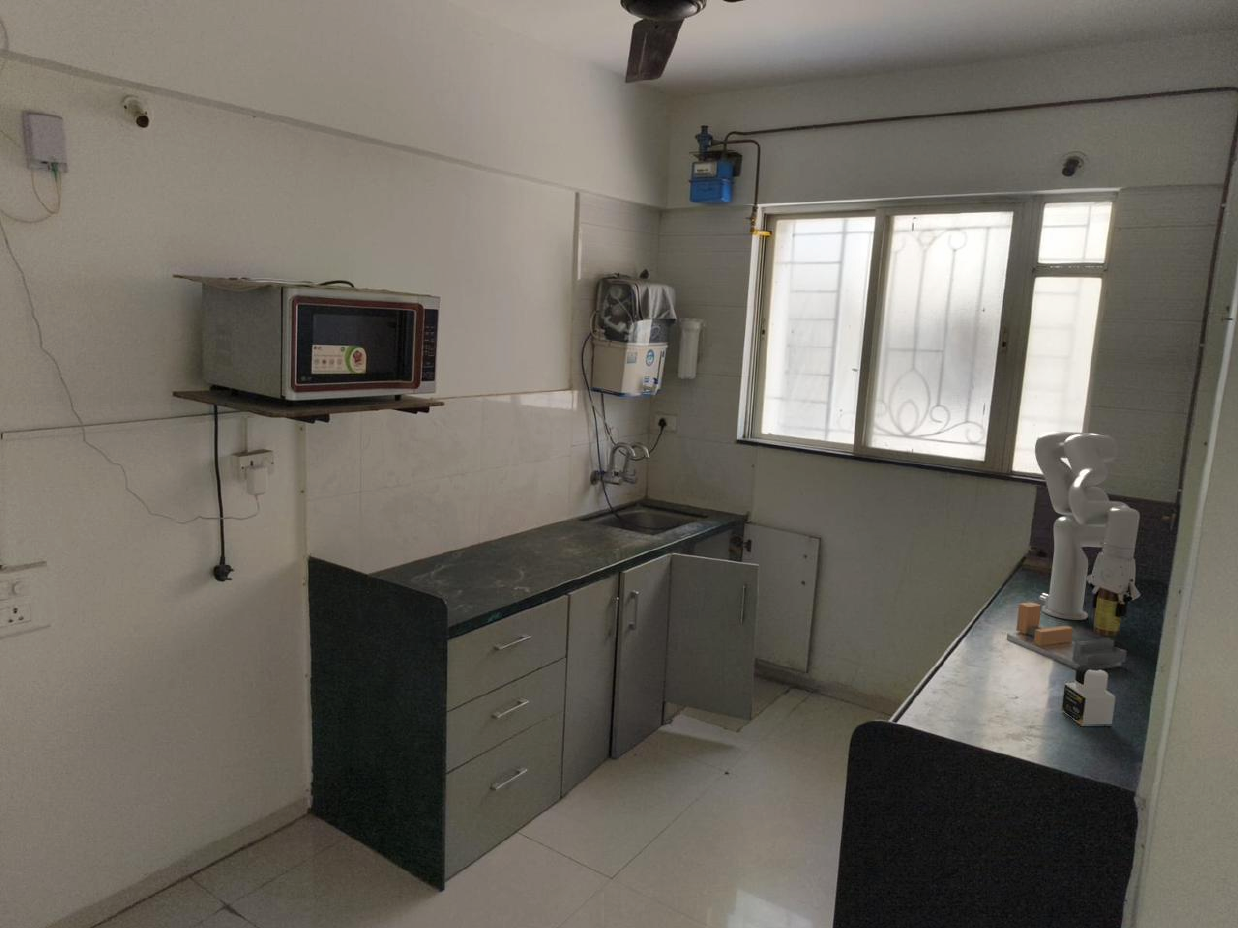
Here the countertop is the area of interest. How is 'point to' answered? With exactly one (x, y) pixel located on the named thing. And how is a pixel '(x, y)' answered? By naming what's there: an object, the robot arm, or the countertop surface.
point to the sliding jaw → (1030, 625)
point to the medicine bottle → (1089, 696)
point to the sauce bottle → (1106, 614)
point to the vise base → (1051, 649)
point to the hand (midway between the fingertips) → (1108, 611)
